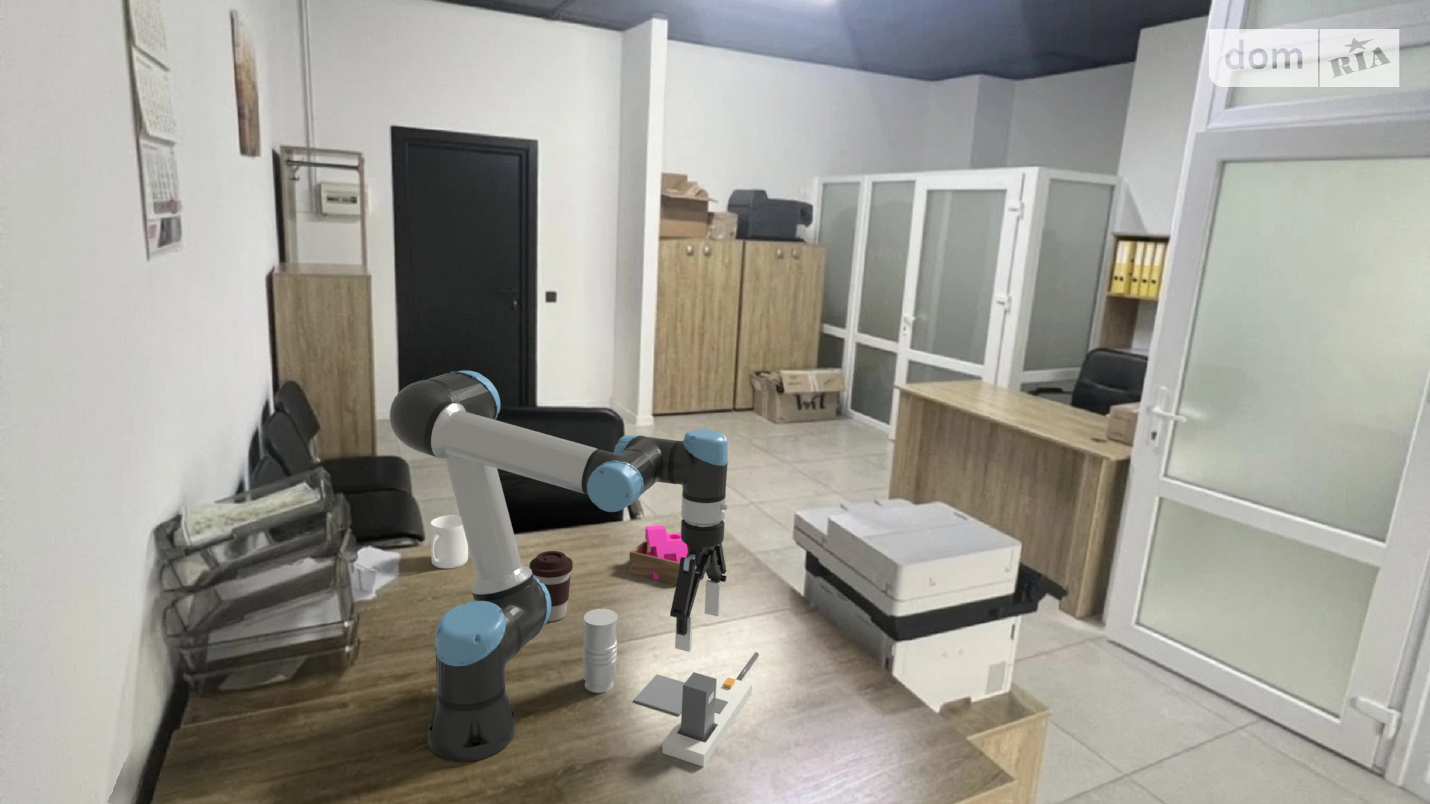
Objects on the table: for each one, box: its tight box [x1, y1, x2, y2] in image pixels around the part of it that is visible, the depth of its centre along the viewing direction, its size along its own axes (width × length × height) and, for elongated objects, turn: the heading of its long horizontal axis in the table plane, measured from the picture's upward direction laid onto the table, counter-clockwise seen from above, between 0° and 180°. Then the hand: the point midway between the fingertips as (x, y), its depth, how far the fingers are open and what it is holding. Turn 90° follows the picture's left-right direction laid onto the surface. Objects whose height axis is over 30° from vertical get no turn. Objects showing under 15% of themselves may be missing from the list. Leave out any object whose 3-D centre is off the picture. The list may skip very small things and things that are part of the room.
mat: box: [633, 673, 686, 717], centre depth 153 cm, size 10×10×1 cm
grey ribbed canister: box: [582, 608, 619, 694], centre depth 154 cm, size 7×7×15 cm
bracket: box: [644, 524, 688, 581], centre depth 209 cm, size 12×10×10 cm
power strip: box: [662, 651, 760, 768], centre depth 152 cm, size 38×8×3 cm, turn 157°
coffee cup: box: [529, 550, 574, 623], centre depth 181 cm, size 10×10×15 cm
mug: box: [429, 514, 469, 570], centre depth 205 cm, size 10×12×12 cm
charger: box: [680, 671, 717, 743], centre depth 139 cm, size 5×5×12 cm
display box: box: [628, 540, 697, 585], centre depth 209 cm, size 14×16×6 cm
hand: (698, 631), depth 137 cm, fingers open, 13 cm apart
